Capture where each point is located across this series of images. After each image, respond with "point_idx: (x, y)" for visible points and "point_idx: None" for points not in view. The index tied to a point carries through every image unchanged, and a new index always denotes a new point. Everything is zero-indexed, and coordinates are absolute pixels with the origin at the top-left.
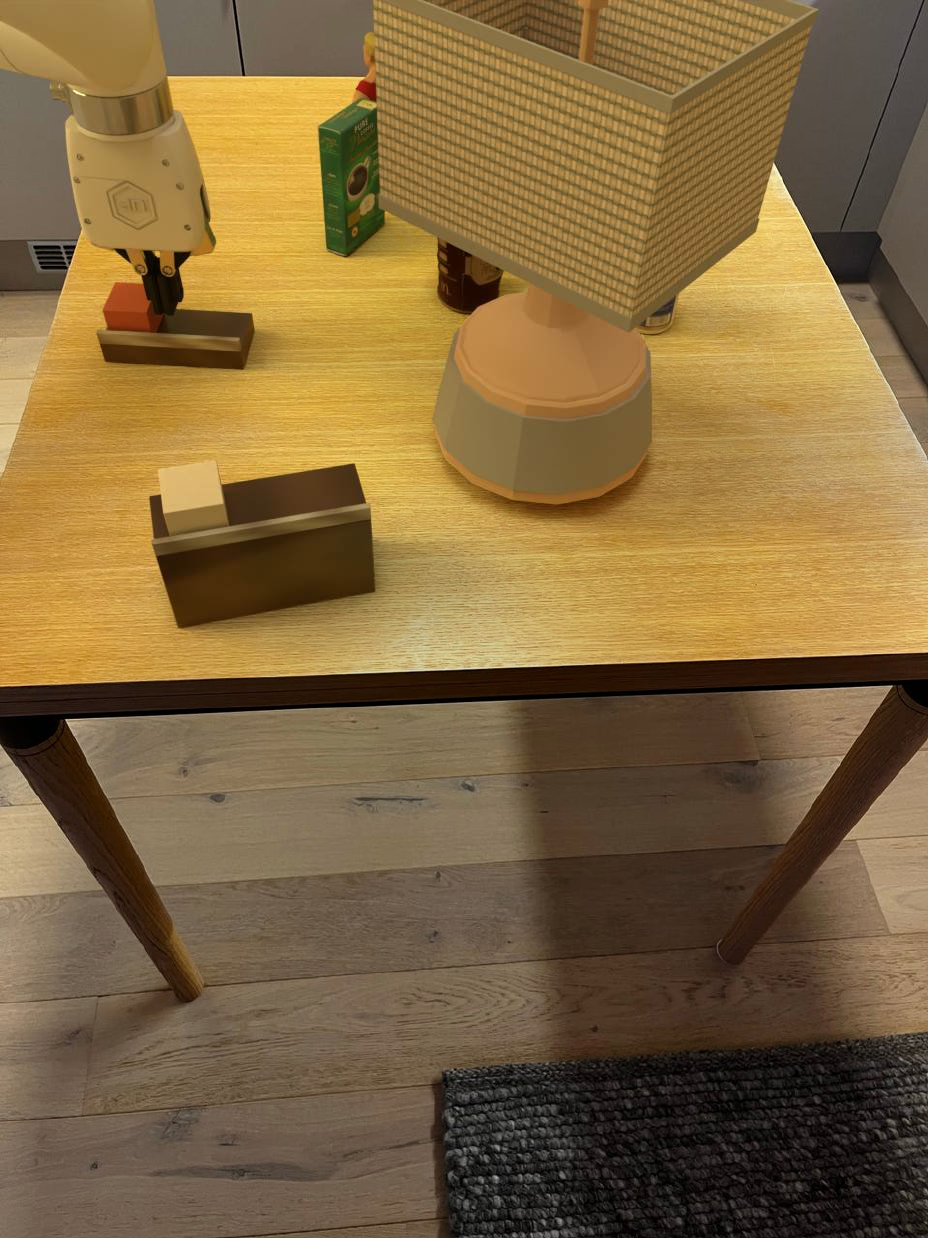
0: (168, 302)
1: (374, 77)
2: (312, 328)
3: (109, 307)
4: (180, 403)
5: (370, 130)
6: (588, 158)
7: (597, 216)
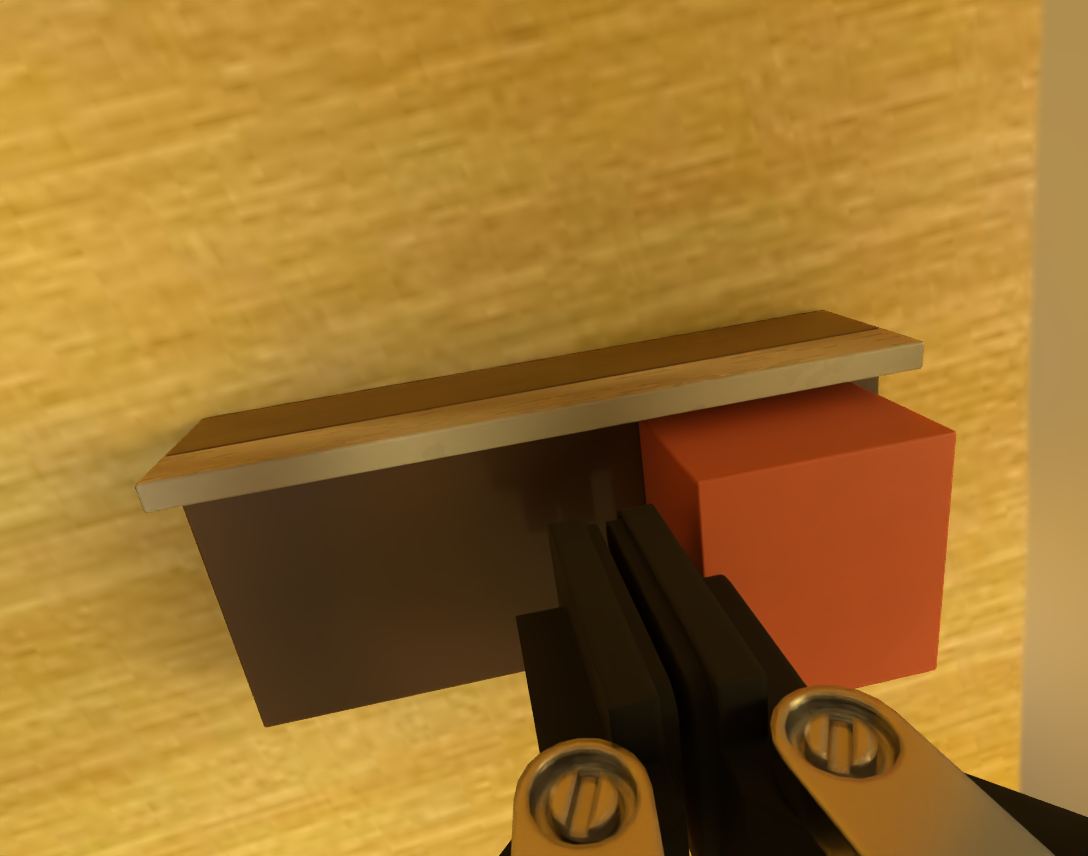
0: (566, 567)
1: None
2: (51, 745)
3: (921, 463)
4: (383, 91)
5: None
6: None
7: None
